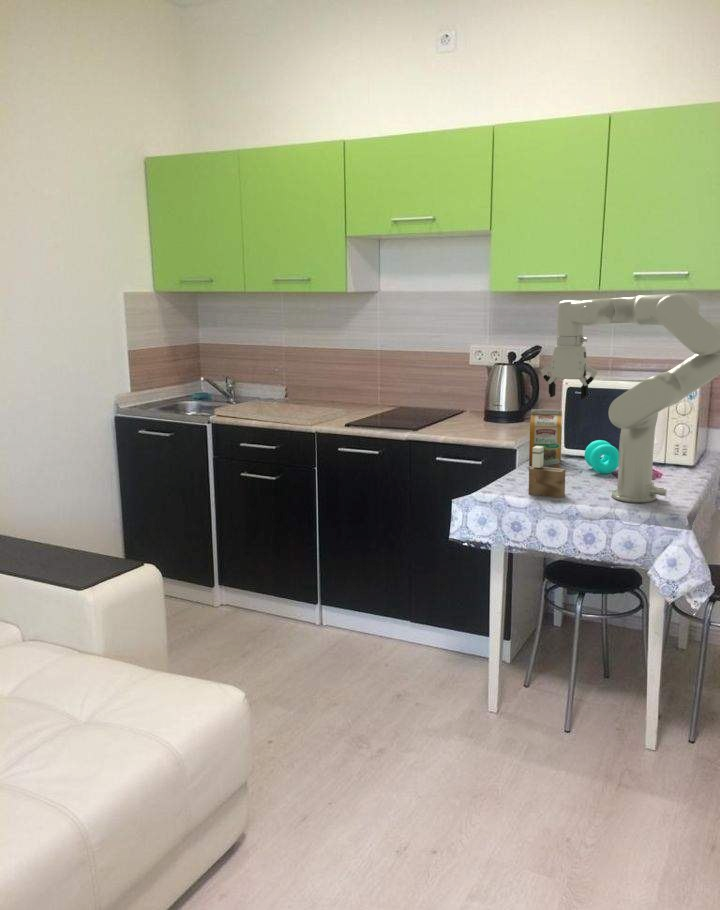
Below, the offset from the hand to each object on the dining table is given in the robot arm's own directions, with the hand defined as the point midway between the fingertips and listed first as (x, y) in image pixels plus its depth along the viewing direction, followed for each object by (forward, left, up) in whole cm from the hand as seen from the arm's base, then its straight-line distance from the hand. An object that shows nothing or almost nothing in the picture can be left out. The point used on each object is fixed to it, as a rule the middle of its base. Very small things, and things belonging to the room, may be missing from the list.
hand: (567, 397), depth 245 cm
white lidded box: (+5, +12, -20) cm, 24 cm away
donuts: (-5, -24, -29) cm, 38 cm away
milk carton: (+16, -28, -28) cm, 43 cm away
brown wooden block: (+2, +12, -28) cm, 31 cm away
